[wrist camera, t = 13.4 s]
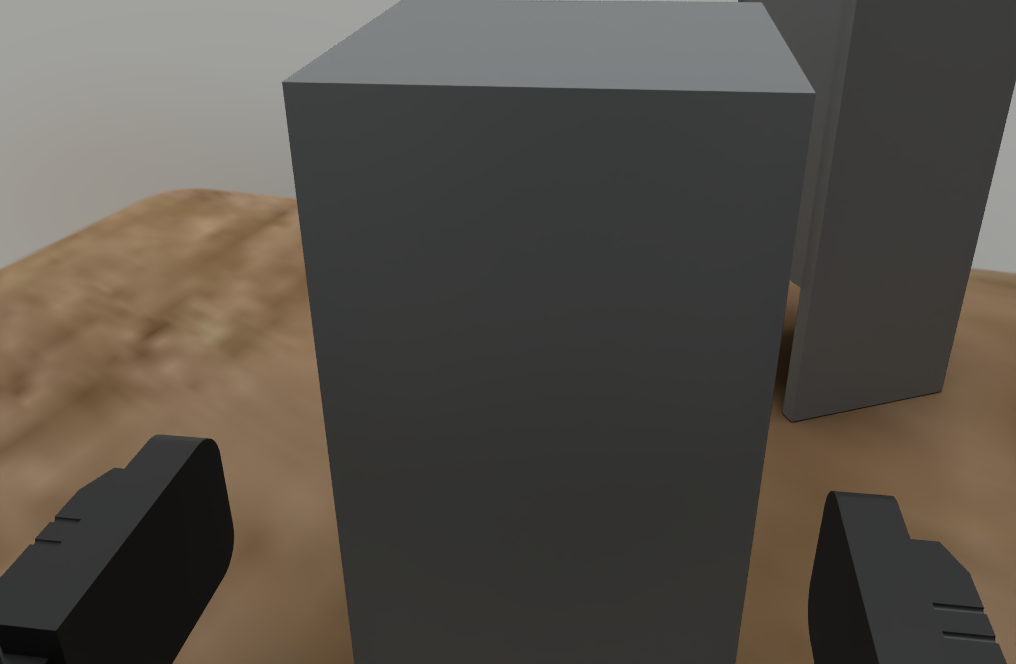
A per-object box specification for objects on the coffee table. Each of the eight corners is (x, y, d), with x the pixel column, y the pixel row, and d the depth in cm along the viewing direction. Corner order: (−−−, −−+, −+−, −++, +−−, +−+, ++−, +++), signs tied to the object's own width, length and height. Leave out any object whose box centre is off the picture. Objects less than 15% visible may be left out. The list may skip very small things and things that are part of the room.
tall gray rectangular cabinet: (838, 317, 41) (908, -90, 33) (941, 391, 35) (1052, -74, 28) (705, 340, 39) (746, -82, 31) (791, 422, 34) (866, -65, 26)
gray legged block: (689, 660, 24) (761, 2, 16) (700, 914, 18) (815, 93, 11) (442, 637, 25) (403, -1, 17) (380, 872, 19) (281, 82, 12)
